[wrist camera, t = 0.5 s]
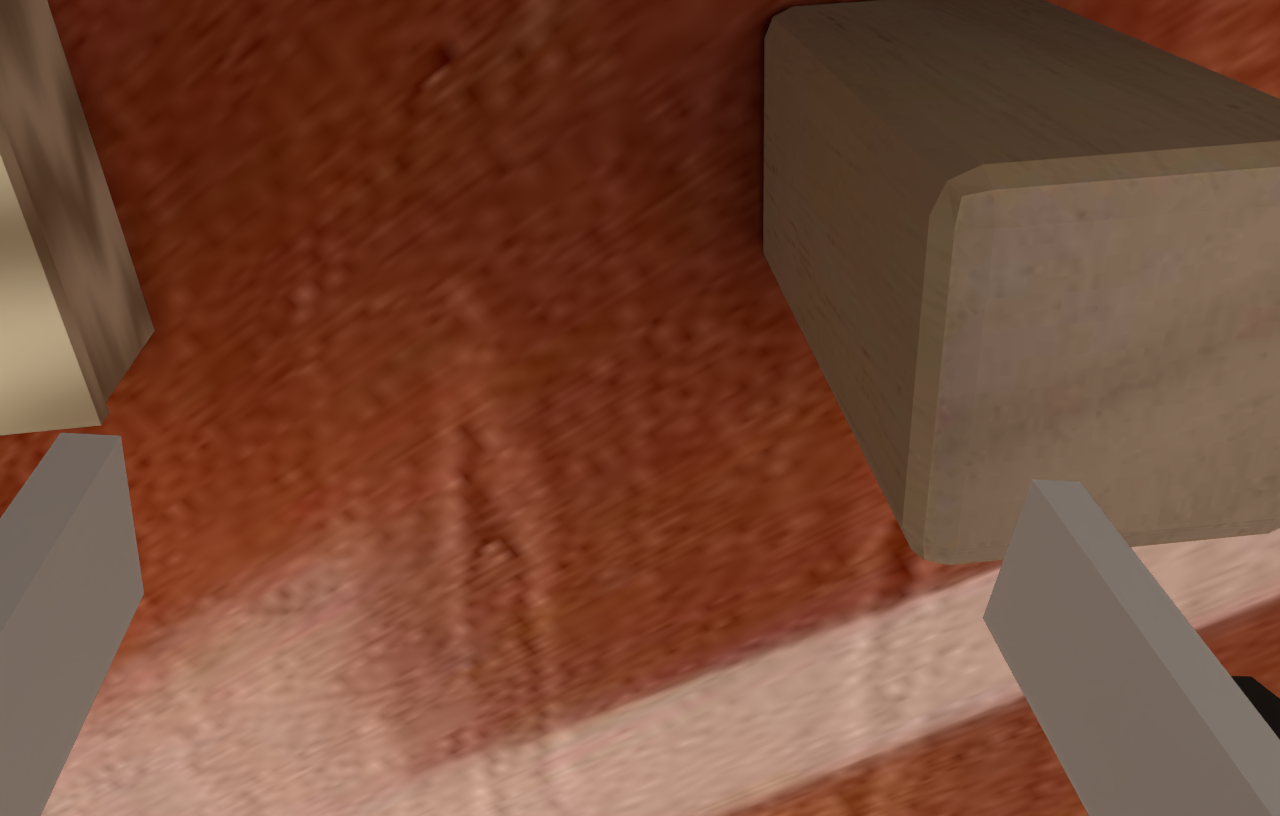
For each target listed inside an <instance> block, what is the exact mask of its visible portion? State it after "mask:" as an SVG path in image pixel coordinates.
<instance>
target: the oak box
mask: <svg viewBox="0 0 1280 816" xmlns="http://www.w3.org/2000/svg"><path fill="white" fill-rule="evenodd" d="M154 331H155V330H154V327H153V324H152V321H151V318H150V315H149V312H148V309H147V306H146V303H145V299H144V296H143V293H142V290H141V287H140V284H139V281H138V278H137V275H136V272H135V269H134V266H133V263H132V260H131V256H130V253H129V250H128V247H127V244H126V241H125V238H124V235H123V232H122V229H121V226H120V223H119V220H118V217H117V213H116V210H115V207H114V204H113V201H112V198H111V195H110V192H109V189H108V186H107V183H106V180H105V177H104V174H103V170H102V167H101V164H100V161H99V158H98V155H97V152H96V149H95V146H94V143H93V140H92V137H91V134H90V131H89V127H88V124H87V121H86V118H85V115H84V112H83V109H82V106H81V103H80V100H79V97H78V94H77V91H76V88H75V84H74V81H73V78H72V75H71V72H70V69H69V66H68V63H67V60H66V57H65V54H64V51H63V48H62V45H61V41H60V38H59V35H58V32H57V29H56V26H55V23H54V20H53V17H52V14H51V11H50V8H49V5H48V2H47V0H0V435H9V434H19V433H29V432H39V431H49V430H59V429H69V428H79V427H89V426H99V425H102V423H103V422H104V420H105V419H106V417H107V416H108V414H109V411H108V408H107V406H106V402H107V400H108V399H109V397H110V396H111V394H112V393H113V391H114V390H115V388H116V387H117V385H118V384H119V382H120V381H121V379H122V378H123V377H124V375H125V374H126V372H127V371H128V369H129V368H130V366H131V365H132V363H133V362H134V360H135V359H136V357H137V356H138V354H139V353H140V352H141V350H142V349H143V347H144V346H145V344H146V343H147V341H148V340H149V338H150V337H151V335H152V334H153V332H154Z"/></svg>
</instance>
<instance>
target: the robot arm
mask: <svg viewBox="0 0 1280 816" xmlns="http://www.w3.org/2000/svg"><path fill="white" fill-rule="evenodd" d="M143 594H144V591H143V584H142V577H141V570H140V564H139V557H138V550H137V543H136V536H135V530H134V523H133V516H132V509H131V502H130V496H129V489H128V482H127V475H126V469H125V462H124V455H123V448H122V441H121V436H115V435H94V434H73V433H60V434H59V436H58V437H57V439H56V440H55V441H54V443H53V444H52V446H51V447H50V449H49V450H48V451H47V453H46V454H45V456H44V457H43V459H42V460H41V461H40V463H39V464H38V466H37V467H36V468H35V470H34V471H33V473H32V474H31V476H30V477H29V478H28V480H27V481H26V483H25V484H24V486H23V487H22V488H21V490H20V491H19V493H18V494H17V495H16V497H15V498H14V500H13V501H12V503H11V504H10V505H9V507H8V508H7V510H6V511H5V513H4V514H3V515H2V517H1V518H0V816H41V814H42V811H43V809H44V807H45V805H46V803H47V801H48V799H49V796H50V794H51V792H52V790H53V788H54V786H55V783H56V781H57V779H58V777H59V775H60V773H61V771H62V768H63V766H64V764H65V762H66V760H67V758H68V756H69V753H70V751H71V749H72V747H73V745H74V743H75V740H76V738H77V736H78V734H79V732H80V730H81V728H82V725H83V723H84V721H85V719H86V717H87V715H88V713H89V710H90V708H91V706H92V704H93V702H94V700H95V698H96V695H97V693H98V691H99V689H100V687H101V685H102V682H103V680H104V678H105V676H106V674H107V672H108V670H109V667H110V665H111V663H112V661H113V659H114V657H115V655H116V652H117V650H118V648H119V646H120V644H121V642H122V640H123V637H124V635H125V633H126V631H127V629H128V627H129V624H130V622H131V620H132V618H133V616H134V614H135V612H136V609H137V607H138V605H139V603H140V601H141V599H142V597H143ZM983 619H984V621H985V623H986V625H987V627H988V628H989V630H990V632H991V634H992V636H993V638H994V640H995V641H996V643H997V645H998V647H999V649H1000V651H1001V653H1002V654H1003V656H1004V658H1005V660H1006V662H1007V664H1008V666H1009V668H1010V669H1011V671H1012V673H1013V675H1014V677H1015V679H1016V681H1017V682H1018V684H1019V686H1020V688H1021V690H1022V692H1023V694H1024V695H1025V697H1026V699H1027V701H1028V703H1029V705H1030V707H1031V708H1032V710H1033V712H1034V714H1035V716H1036V718H1037V720H1038V722H1039V723H1040V725H1041V727H1042V729H1043V731H1044V733H1045V735H1046V736H1047V738H1048V740H1049V742H1050V744H1051V746H1052V748H1053V749H1054V751H1055V753H1056V755H1057V757H1058V759H1059V761H1060V763H1061V764H1062V766H1063V768H1064V770H1065V772H1066V774H1067V776H1068V777H1069V779H1070V781H1071V783H1072V785H1073V787H1074V789H1075V790H1076V792H1077V794H1078V796H1079V798H1080V800H1081V802H1082V803H1083V805H1084V807H1085V809H1086V811H1087V813H1088V815H1089V816H1280V699H1279V698H1278V697H1277V696H1275V695H1274V694H1273V693H1272V692H1270V691H1269V690H1268V689H1266V688H1265V687H1264V686H1263V685H1261V684H1260V683H1259V682H1257V681H1256V680H1255V679H1254V678H1252V677H1247V676H1230V675H1229V674H1228V672H1227V671H1226V670H1225V668H1224V667H1223V666H1222V665H1221V663H1220V662H1219V661H1218V659H1217V658H1216V657H1215V656H1214V654H1213V653H1212V652H1211V650H1210V649H1209V648H1208V646H1207V645H1206V644H1205V643H1204V641H1203V640H1202V639H1201V637H1200V636H1199V635H1198V634H1197V632H1196V631H1195V630H1194V628H1193V627H1192V626H1191V625H1190V623H1189V622H1188V621H1187V619H1186V618H1185V617H1184V616H1183V614H1182V613H1181V612H1180V610H1179V609H1178V608H1177V607H1176V605H1175V604H1174V603H1173V601H1172V600H1171V599H1170V597H1169V596H1168V595H1167V594H1166V592H1165V591H1164V590H1163V588H1162V587H1161V586H1160V585H1159V583H1158V582H1157V581H1156V579H1155V578H1154V577H1153V576H1152V574H1151V573H1150V572H1149V570H1148V569H1147V568H1146V567H1145V565H1144V564H1143V563H1142V561H1141V560H1140V559H1139V558H1138V556H1137V555H1136V554H1135V552H1134V551H1133V550H1132V548H1131V547H1130V546H1129V545H1128V543H1127V542H1126V541H1125V539H1124V538H1123V537H1122V536H1121V534H1120V533H1119V532H1118V530H1117V529H1116V528H1115V527H1114V525H1113V524H1112V523H1111V521H1110V520H1109V519H1108V518H1107V516H1106V515H1105V514H1104V512H1103V511H1102V510H1101V509H1100V507H1099V506H1098V505H1097V503H1096V502H1095V501H1094V499H1093V498H1092V497H1091V496H1090V494H1089V493H1088V492H1087V490H1086V489H1085V488H1084V487H1083V485H1082V484H1081V483H1080V482H1077V481H1056V480H1035V479H1032V482H1031V485H1030V488H1029V491H1028V493H1027V496H1026V499H1025V502H1024V505H1023V507H1022V510H1021V513H1020V516H1019V519H1018V521H1017V524H1016V527H1015V530H1014V533H1013V535H1012V538H1011V541H1010V544H1009V546H1008V549H1007V552H1006V555H1005V558H1004V560H1003V563H1002V566H1001V569H1000V572H999V574H998V577H997V580H996V583H995V586H994V588H993V591H992V594H991V597H990V600H989V602H988V605H987V608H986V611H985V614H984V616H983Z"/></svg>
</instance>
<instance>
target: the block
mask: <svg viewBox="0 0 1280 816" xmlns="http://www.w3.org/2000/svg"><path fill="white" fill-rule="evenodd" d="M763 253H764V255H765V257H766V259H767V262H768V264H769V266H770V268H771V270H772V272H773V274H774V276H775V278H776V280H777V282H778V284H779V286H780V288H781V290H782V292H783V294H784V296H785V298H786V300H787V302H788V304H789V306H790V308H791V310H792V312H793V314H794V316H795V318H796V320H797V322H798V324H799V326H800V328H801V330H802V332H803V334H804V336H805V338H806V340H807V342H808V344H809V346H810V348H811V350H812V352H813V354H814V356H815V358H816V360H817V362H818V364H819V366H820V368H821V370H822V372H823V374H824V376H825V378H826V380H827V382H828V384H829V386H830V388H831V390H832V392H833V394H834V396H835V398H836V400H837V402H838V404H839V406H840V408H841V410H842V412H843V414H844V416H845V418H846V420H847V422H848V424H849V426H850V428H851V430H852V432H853V434H854V436H855V438H856V440H857V442H858V444H859V446H860V448H861V450H862V452H863V454H864V456H865V458H866V460H867V462H868V464H869V466H870V468H871V470H872V472H873V474H874V476H875V478H876V480H877V482H878V484H879V486H880V488H881V490H882V492H883V494H884V496H885V498H886V500H887V502H888V504H889V506H890V508H891V510H892V512H893V514H894V516H895V518H896V520H897V522H898V524H899V526H900V528H901V530H902V532H903V534H904V536H905V538H906V540H907V542H908V544H909V546H910V548H911V550H912V551H914V552H915V553H916V554H918V555H919V556H920V557H922V558H923V559H924V560H928V561H933V562H938V563H942V564H947V565H954V564H964V563H974V562H984V561H994V560H1004V558H1005V555H1006V552H1007V549H1008V546H1009V544H1010V541H1011V538H1012V535H1013V533H1014V530H1015V527H1016V524H1017V521H1018V519H1019V516H1020V513H1021V510H1022V507H1023V505H1024V502H1025V499H1026V496H1027V493H1028V491H1029V488H1030V485H1031V482H1032V479H1035V480H1056V481H1077V482H1080V483H1081V484H1082V485H1083V487H1084V488H1085V489H1086V490H1087V492H1088V493H1089V494H1090V496H1091V497H1092V498H1093V499H1094V501H1095V502H1096V503H1097V505H1098V506H1099V507H1100V509H1101V510H1102V511H1103V512H1104V514H1105V515H1106V516H1107V518H1108V519H1109V520H1110V521H1111V523H1112V524H1113V525H1114V527H1115V528H1116V529H1117V530H1118V532H1119V533H1120V534H1121V536H1122V537H1123V538H1124V539H1125V541H1126V542H1127V543H1128V545H1129V546H1130V547H1135V546H1146V545H1156V544H1166V543H1176V542H1186V541H1196V540H1206V539H1216V538H1226V537H1236V536H1246V535H1256V534H1266V533H1270V532H1272V531H1274V530H1276V529H1279V528H1280V99H1278V98H1276V97H1274V96H1271V95H1269V94H1266V93H1264V92H1262V91H1259V90H1257V89H1255V88H1252V87H1250V86H1247V85H1245V84H1243V83H1240V82H1238V81H1235V80H1233V79H1231V78H1228V77H1226V76H1223V75H1221V74H1219V73H1216V72H1214V71H1212V70H1209V69H1207V68H1204V67H1202V66H1200V65H1197V64H1195V63H1192V62H1190V61H1188V60H1185V59H1183V58H1180V57H1178V56H1176V55H1173V54H1171V53H1169V52H1166V51H1164V50H1161V49H1159V48H1157V47H1154V46H1152V45H1149V44H1147V43H1145V42H1142V41H1140V40H1137V39H1135V38H1133V37H1130V36H1128V35H1126V34H1123V33H1121V32H1118V31H1116V30H1114V29H1111V28H1109V27H1106V26H1104V25H1102V24H1099V23H1097V22H1094V21H1092V20H1090V19H1087V18H1085V17H1083V16H1080V15H1078V14H1075V13H1073V12H1071V11H1068V10H1066V9H1063V8H1061V7H1059V6H1056V5H1054V4H1051V3H1049V2H1047V1H1044V0H876V1H862V2H848V3H834V4H820V5H806V6H793V7H791V8H789V9H787V10H785V11H783V12H781V13H779V14H777V15H775V16H773V18H772V21H771V23H770V26H769V28H768V31H767V33H766V36H765V40H764V202H763Z"/></svg>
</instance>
